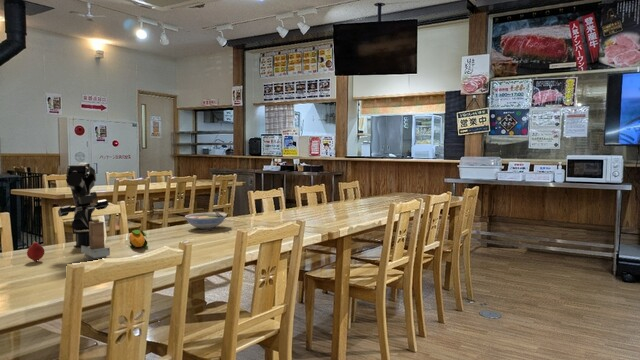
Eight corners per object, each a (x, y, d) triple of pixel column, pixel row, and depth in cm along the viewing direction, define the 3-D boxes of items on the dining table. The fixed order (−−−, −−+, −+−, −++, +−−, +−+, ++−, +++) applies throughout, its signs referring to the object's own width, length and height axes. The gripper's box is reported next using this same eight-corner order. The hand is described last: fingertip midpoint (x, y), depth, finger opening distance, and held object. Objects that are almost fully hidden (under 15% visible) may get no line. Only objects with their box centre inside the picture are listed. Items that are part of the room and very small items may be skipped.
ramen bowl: (184, 226, 263) (184, 211, 263) (224, 223, 270) (224, 210, 269) (185, 233, 239) (184, 218, 239) (229, 230, 246) (229, 215, 246)
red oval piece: (41, 259, 185) (40, 239, 184) (47, 261, 181) (46, 241, 180) (25, 261, 180) (24, 241, 180) (30, 264, 176) (29, 243, 176)
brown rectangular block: (89, 249, 183) (88, 219, 182) (99, 247, 186) (98, 218, 185) (94, 251, 179) (93, 220, 179) (104, 249, 182) (103, 219, 181)
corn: (143, 226, 216) (149, 233, 198) (145, 242, 217) (151, 250, 199) (126, 228, 213) (131, 235, 195) (128, 244, 213) (133, 253, 196)
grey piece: (78, 257, 186) (78, 245, 186) (99, 254, 192) (99, 242, 192) (91, 263, 176) (90, 250, 176) (112, 259, 182) (112, 246, 182)
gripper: (58, 189, 184) (68, 226, 181) (107, 183, 196) (116, 217, 194) (54, 198, 192) (62, 233, 190) (100, 191, 204) (109, 224, 202)
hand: (88, 226), depth 193 cm, fingers closed
